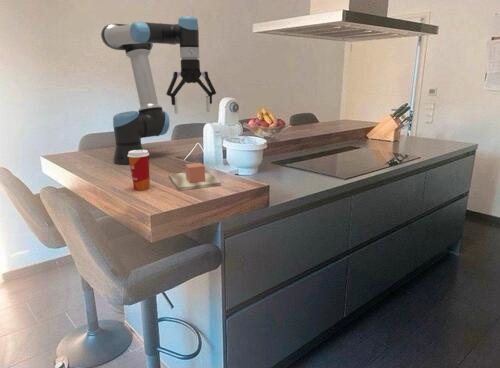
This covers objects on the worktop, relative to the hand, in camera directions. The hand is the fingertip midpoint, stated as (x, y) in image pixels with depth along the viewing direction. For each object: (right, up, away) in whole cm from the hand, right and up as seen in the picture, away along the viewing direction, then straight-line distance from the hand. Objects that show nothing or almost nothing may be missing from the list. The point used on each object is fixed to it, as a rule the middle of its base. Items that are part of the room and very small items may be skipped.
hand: (192, 112), depth 156 cm
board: (+2, -29, -9) cm, 30 cm away
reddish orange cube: (+3, -28, -12) cm, 31 cm away
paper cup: (-16, -32, -17) cm, 39 cm away
